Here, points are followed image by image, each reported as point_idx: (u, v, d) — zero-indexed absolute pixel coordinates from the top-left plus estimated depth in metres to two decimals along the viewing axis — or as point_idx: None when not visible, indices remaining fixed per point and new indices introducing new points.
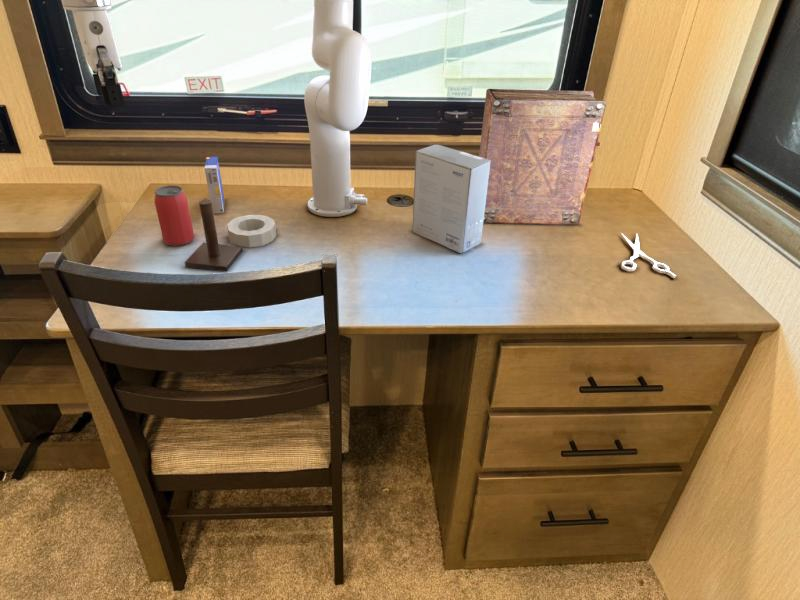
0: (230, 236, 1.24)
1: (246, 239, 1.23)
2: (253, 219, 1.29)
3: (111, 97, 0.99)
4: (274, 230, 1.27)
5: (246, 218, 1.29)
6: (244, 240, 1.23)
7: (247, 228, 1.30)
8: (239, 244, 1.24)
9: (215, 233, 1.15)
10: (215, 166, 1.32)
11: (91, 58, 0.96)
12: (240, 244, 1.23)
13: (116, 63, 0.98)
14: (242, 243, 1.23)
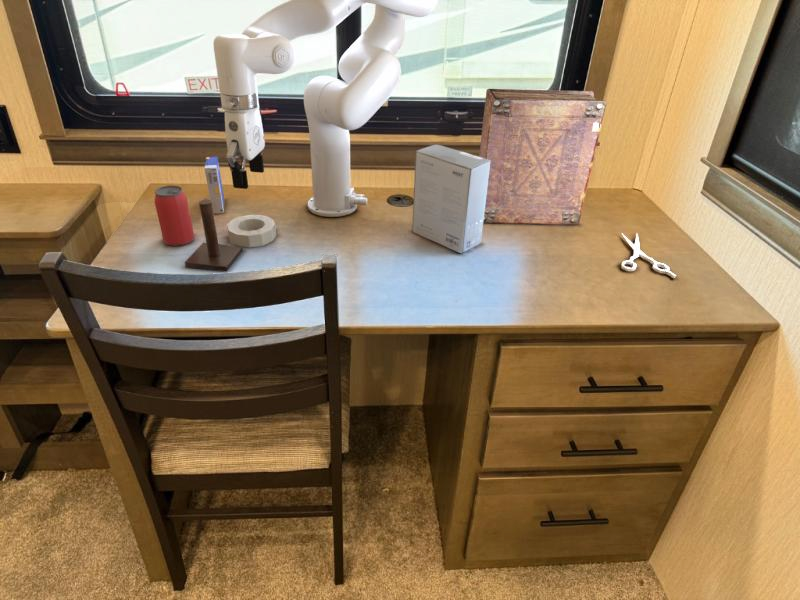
0: (230, 236, 1.24)
1: (246, 239, 1.23)
2: (253, 219, 1.29)
3: (236, 180, 1.18)
4: (274, 230, 1.27)
5: (246, 218, 1.29)
6: (244, 240, 1.23)
7: (247, 228, 1.30)
8: (239, 244, 1.24)
9: (215, 233, 1.15)
10: (215, 166, 1.32)
11: (227, 148, 1.16)
12: (240, 244, 1.23)
13: (244, 155, 1.16)
14: (242, 243, 1.23)
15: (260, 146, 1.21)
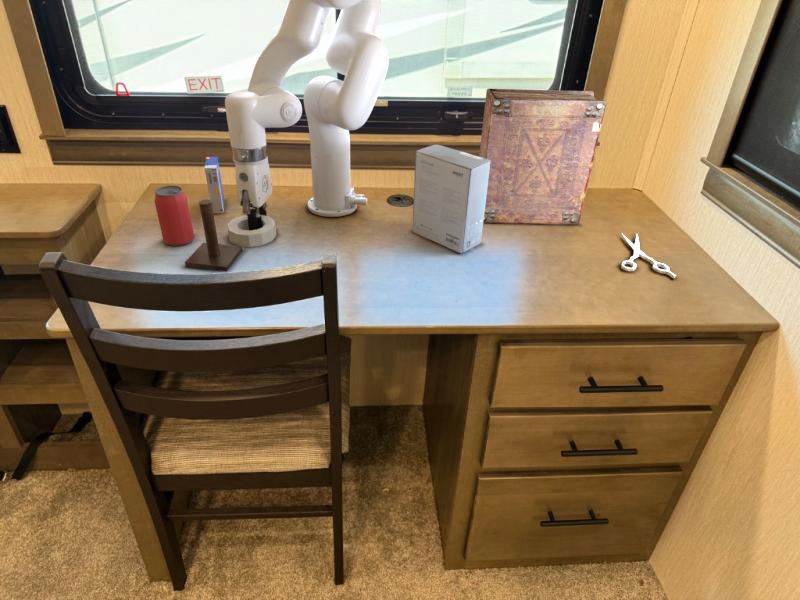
0: (230, 236, 1.24)
1: (246, 238, 1.23)
2: None
3: (251, 225, 1.28)
4: (274, 230, 1.27)
5: (246, 218, 1.29)
6: (244, 239, 1.23)
7: (247, 227, 1.30)
8: (239, 244, 1.24)
9: (215, 233, 1.15)
10: (215, 166, 1.32)
11: (238, 197, 1.22)
12: (240, 244, 1.24)
13: (254, 203, 1.22)
14: (242, 243, 1.23)
15: (268, 192, 1.27)
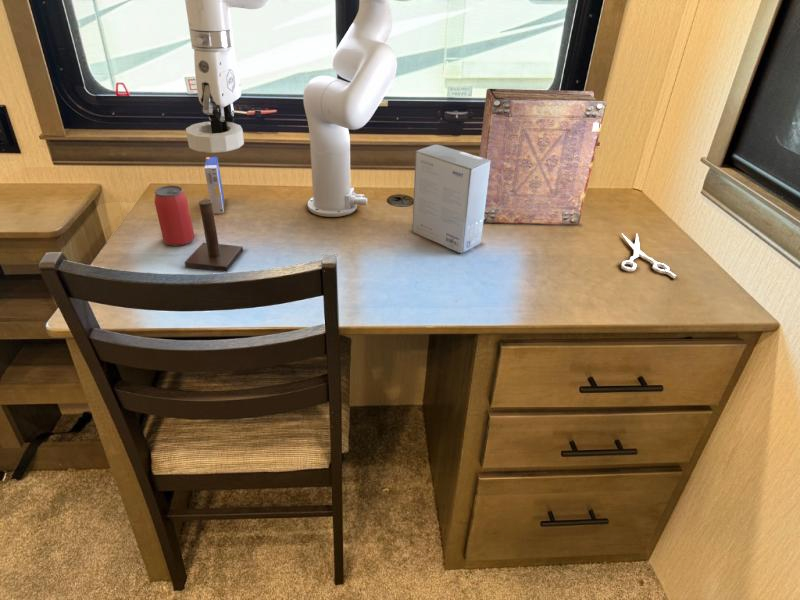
0: (189, 140, 1.06)
1: (207, 142, 1.05)
2: None
3: (215, 131, 1.10)
4: (241, 136, 1.09)
5: (209, 124, 1.11)
6: (204, 143, 1.05)
7: None
8: (199, 149, 1.06)
9: (215, 233, 1.15)
10: (215, 166, 1.32)
11: (198, 92, 1.04)
12: (200, 149, 1.06)
13: (216, 100, 1.04)
14: (202, 147, 1.05)
15: (235, 93, 1.10)
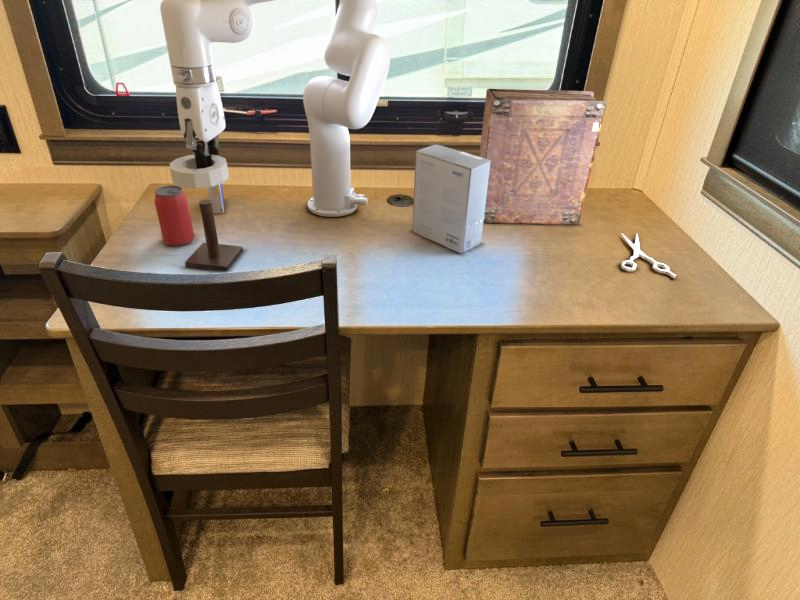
0: (172, 175, 1.05)
1: (191, 178, 1.03)
2: None
3: (200, 165, 1.09)
4: (226, 170, 1.08)
5: (193, 157, 1.10)
6: (188, 179, 1.04)
7: (196, 169, 1.11)
8: (183, 185, 1.04)
9: (215, 233, 1.15)
10: None
11: None
12: (184, 184, 1.04)
13: (200, 136, 1.03)
14: (186, 183, 1.04)
15: (219, 127, 1.08)
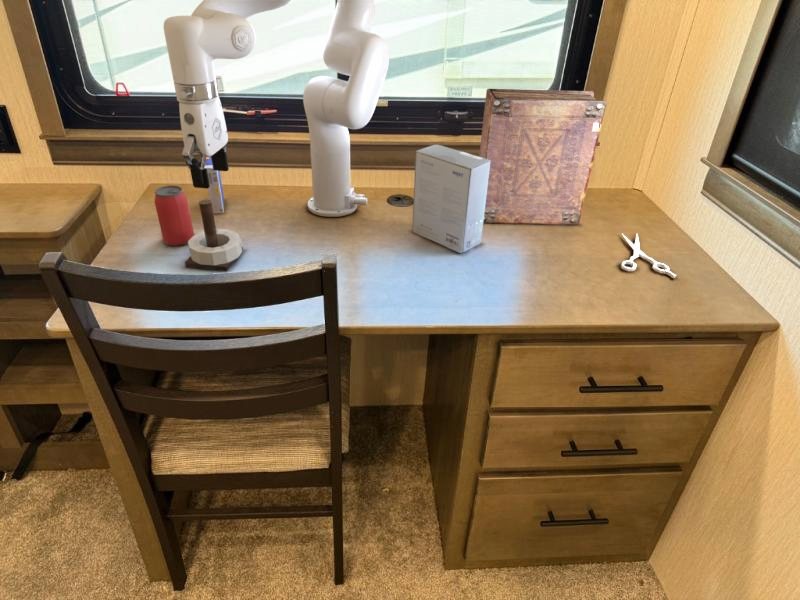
0: (192, 254, 1.15)
1: (209, 256, 1.13)
2: (217, 234, 1.20)
3: (195, 179, 1.07)
4: (240, 246, 1.18)
5: None
6: (207, 257, 1.13)
7: None
8: (202, 262, 1.14)
9: (215, 233, 1.15)
10: None
11: (184, 143, 1.05)
12: (203, 262, 1.14)
13: (203, 150, 1.05)
14: (204, 261, 1.14)
15: (222, 141, 1.10)
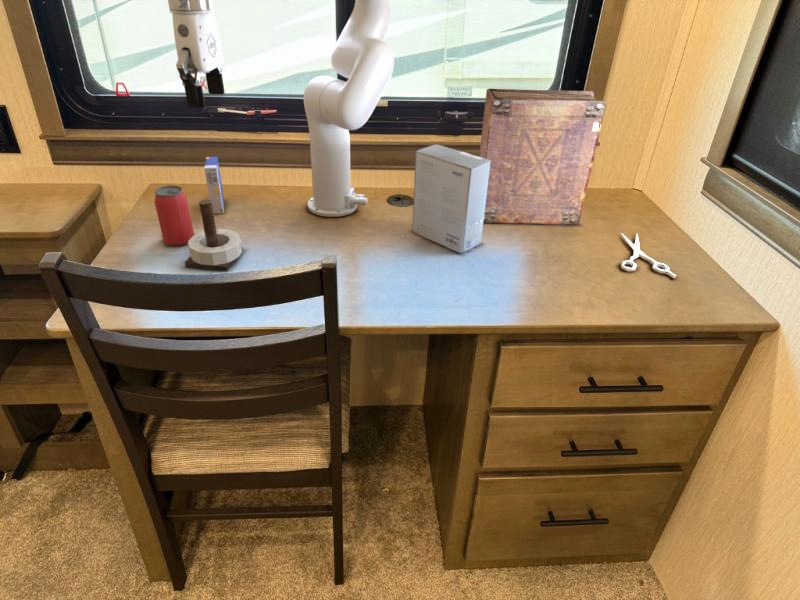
0: (192, 254, 1.15)
1: (209, 256, 1.13)
2: (217, 234, 1.20)
3: (190, 97, 1.04)
4: (240, 246, 1.18)
5: None
6: (207, 257, 1.13)
7: None
8: (202, 262, 1.14)
9: (215, 233, 1.15)
10: (215, 166, 1.32)
11: (178, 58, 1.01)
12: (203, 262, 1.14)
13: (198, 66, 1.01)
14: (204, 261, 1.14)
15: (217, 59, 1.06)
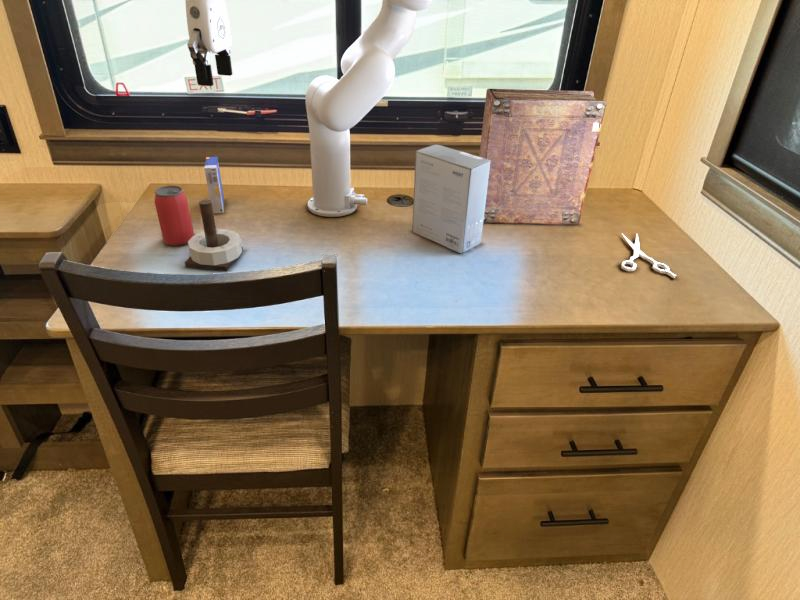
0: (192, 254, 1.15)
1: (209, 256, 1.13)
2: (217, 234, 1.20)
3: (200, 75, 1.11)
4: (240, 246, 1.18)
5: None
6: (207, 257, 1.13)
7: None
8: (202, 262, 1.14)
9: (215, 233, 1.15)
10: (215, 166, 1.32)
11: (189, 39, 1.08)
12: (203, 262, 1.14)
13: (208, 46, 1.08)
14: (204, 261, 1.14)
15: (226, 41, 1.14)
